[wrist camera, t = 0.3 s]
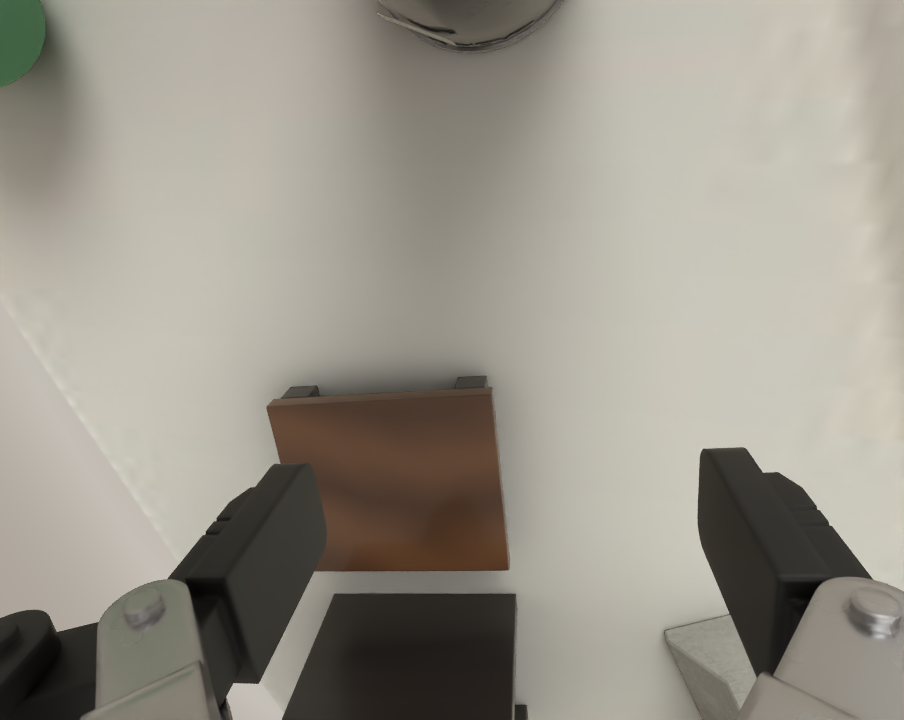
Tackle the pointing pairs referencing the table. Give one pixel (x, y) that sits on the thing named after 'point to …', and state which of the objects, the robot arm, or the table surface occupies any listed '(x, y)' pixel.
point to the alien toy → (20, 37)
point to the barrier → (713, 666)
